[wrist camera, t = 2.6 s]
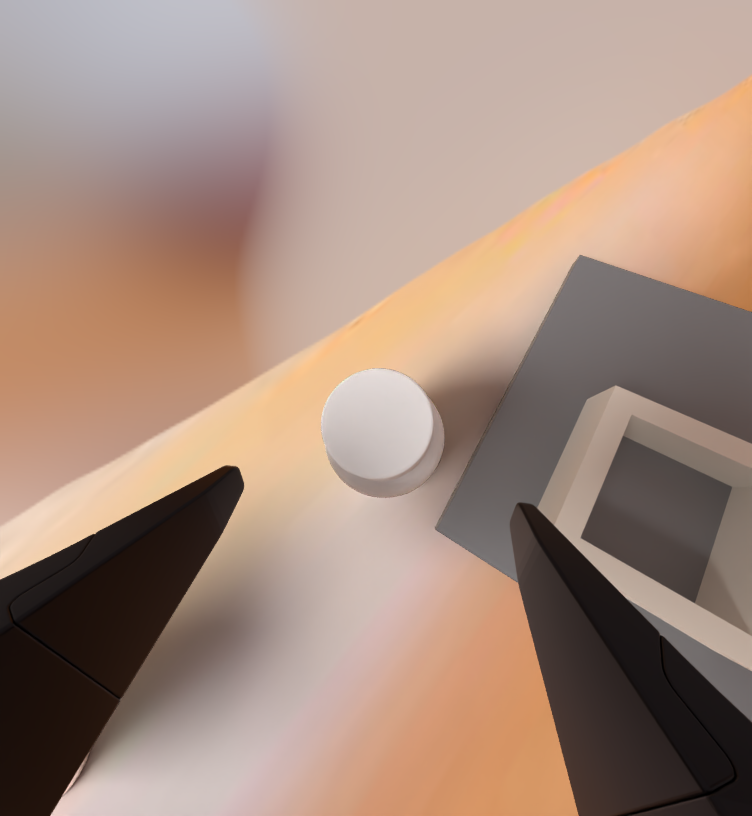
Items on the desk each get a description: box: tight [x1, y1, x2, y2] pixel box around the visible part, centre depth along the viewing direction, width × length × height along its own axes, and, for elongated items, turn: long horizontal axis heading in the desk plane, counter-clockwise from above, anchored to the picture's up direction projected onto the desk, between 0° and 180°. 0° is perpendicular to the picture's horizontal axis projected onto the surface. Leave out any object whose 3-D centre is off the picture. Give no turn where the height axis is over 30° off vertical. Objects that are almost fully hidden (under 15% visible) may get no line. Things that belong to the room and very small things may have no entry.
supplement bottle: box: [321, 368, 444, 498], centre depth 14 cm, size 5×5×10 cm
